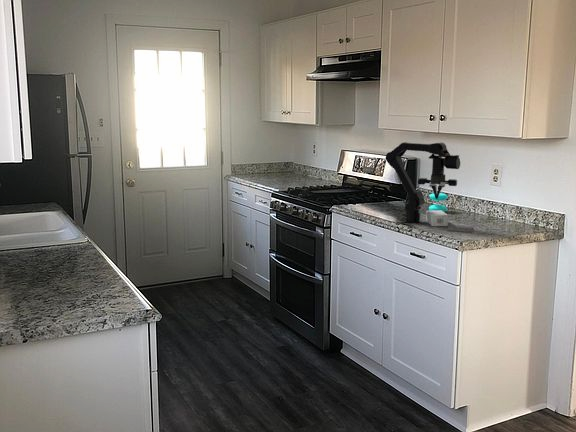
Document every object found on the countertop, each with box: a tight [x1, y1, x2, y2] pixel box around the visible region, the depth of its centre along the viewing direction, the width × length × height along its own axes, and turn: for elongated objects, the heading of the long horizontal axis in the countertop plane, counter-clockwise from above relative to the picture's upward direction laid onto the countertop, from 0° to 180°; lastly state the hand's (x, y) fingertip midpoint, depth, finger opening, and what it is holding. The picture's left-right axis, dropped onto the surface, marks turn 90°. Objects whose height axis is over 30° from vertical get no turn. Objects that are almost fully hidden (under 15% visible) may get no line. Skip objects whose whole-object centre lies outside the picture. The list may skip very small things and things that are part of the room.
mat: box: [446, 224, 474, 234], centre depth 293 cm, size 11×14×1 cm
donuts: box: [428, 192, 449, 213], centre depth 343 cm, size 10×10×10 cm
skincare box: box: [425, 209, 449, 227], centre depth 305 cm, size 8×6×15 cm
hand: (436, 198), depth 302 cm, fingers closed
